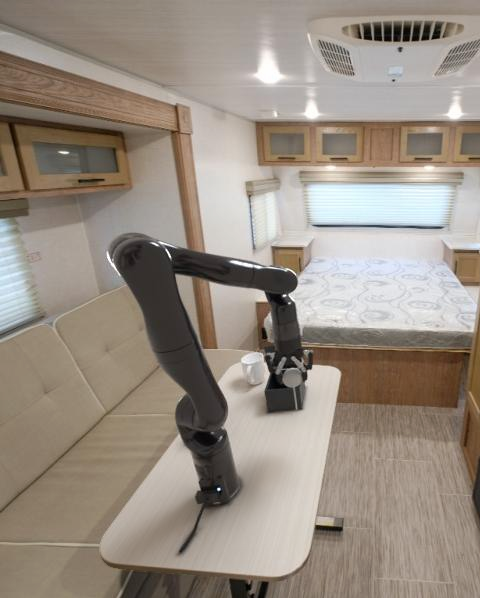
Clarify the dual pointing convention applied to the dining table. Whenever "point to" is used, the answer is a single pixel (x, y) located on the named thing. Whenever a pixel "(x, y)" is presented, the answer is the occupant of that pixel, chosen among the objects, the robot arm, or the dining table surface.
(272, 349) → the bin lid
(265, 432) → the dining table surface
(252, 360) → the mug
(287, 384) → the lollipop
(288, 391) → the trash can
